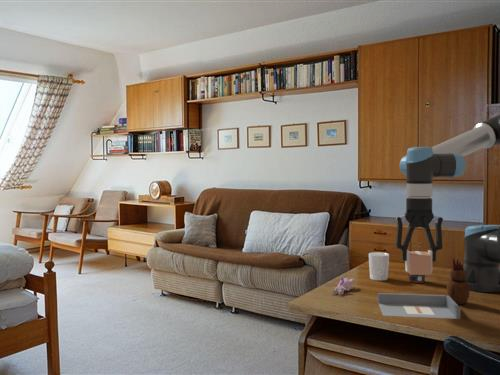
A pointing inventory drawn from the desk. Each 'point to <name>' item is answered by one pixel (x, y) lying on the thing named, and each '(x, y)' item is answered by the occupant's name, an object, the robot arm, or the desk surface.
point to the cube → (419, 263)
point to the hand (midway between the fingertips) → (418, 271)
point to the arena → (418, 305)
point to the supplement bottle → (417, 278)
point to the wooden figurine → (458, 284)
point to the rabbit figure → (342, 286)
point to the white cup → (378, 265)
